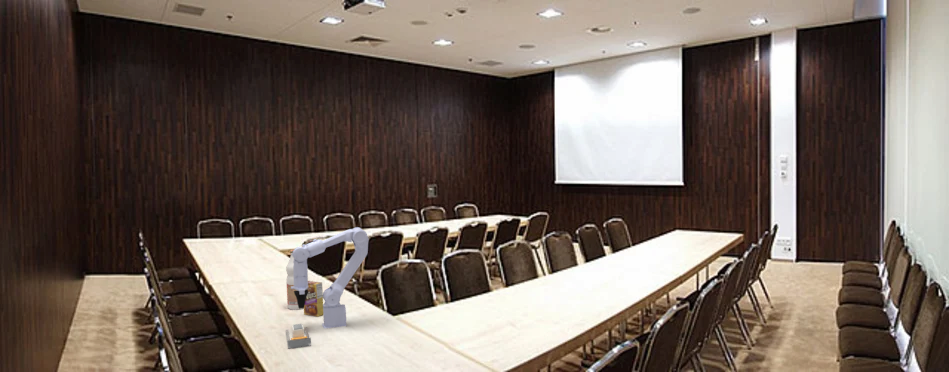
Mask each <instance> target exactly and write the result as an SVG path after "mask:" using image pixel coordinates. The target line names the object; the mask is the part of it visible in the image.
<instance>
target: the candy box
mask: <svg viewBox="0 0 949 372" xmlns="http://www.w3.org/2000/svg"><path fill="white" fill-rule="evenodd" d="M307 290H308V294H307V296H306V300H305V306H304V308H303V315H304V316H311V317H312V316H313V317H317V318H319V317H321V316H323V304H324V299H323V292H324V291H323V282H319V281H313V280H308V288H307Z"/></svg>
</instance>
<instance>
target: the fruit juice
mask: <svg viewBox="0 0 949 372" xmlns="http://www.w3.org/2000/svg"><path fill="white" fill-rule="evenodd" d="M293 251H294V249H291V250H289V253H290V257H289V261H288V263H287V265H286V268H285V270H286V274H287V276H286V300H287V303H286V304H287V309H288V310H295V311H298V310H304V308H299V307H298V303H297V298H296V296H295V294H294V291H298V290H295V289H291V286H294V275H293V265H294V263H293V261H294V257H293V255H292V253H293Z"/></svg>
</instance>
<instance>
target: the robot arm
mask: <svg viewBox="0 0 949 372" xmlns="http://www.w3.org/2000/svg"><path fill="white" fill-rule="evenodd" d="M369 240H370V239H369V237H368V234H367V232H366V231H365V230H364V229H362V228H361V227H358V226H356V227H354V228H349V229H347V230H344V231H342V232H339V233H337V234H335V235H333V236H331V237H328V238H326V239H324V240H322V239H316V238H315V239H312V242H309V243H306V244H302V245H301V246H297V247H295V248H294V249H293V250H294V251H293V253H292V255H293V257H294V261H293V263H294V265H293V275H294V286H291V289H295V290H298V291H294V294H295V296H296V298H297V303H298V307H299V308H303V309H304V306H305V300H306V296H307V294H308V290H307V288H308V281H309V274H308V272H309V271H308V258H312V257H314V256H317V255H319V254H322V253H324V252H325V250H326V248H328V247H332V246H334V245H337V244H339V243H343V242H347V243H353V246H354V252H353V254H352V255H351V257H350V259H349V260H348V261H347V263H346V264H345V265H344V267H343V269H342V270H341V272H340V273H339V275H338V277H337V278H336V279H335V280H334V282H332V283H331V285H330V286H329V287H328V288H326V289H325V290H324V291H323V301H324V302H323V315H322V316H323V318H322V319H323V322H322V323H321V325H322V328H323V329H331V328H340V327H347V309H346V304H342V303H340V301H341V297H342V295H343V293H344V290H345V288H346V287H347V285H348V284H349V282H350V280H351V279H352V278H353V276H354V275H355V273H356V271H357V270H358V269H359V267H360V265H361V264H362V263H363V261H364V260H365V258H366V257H367V256H368V251H369Z"/></svg>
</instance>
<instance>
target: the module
mask: <svg viewBox="0 0 949 372" xmlns="http://www.w3.org/2000/svg"><path fill="white" fill-rule="evenodd" d="M304 328H305V327H304V325H303V324H302V323H296V324H295V323H294V324H292V325H291V329H292V330H291V331H292V332H291V333H292V334H291V335H292V338H296V337H304V336H305V331H304Z"/></svg>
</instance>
